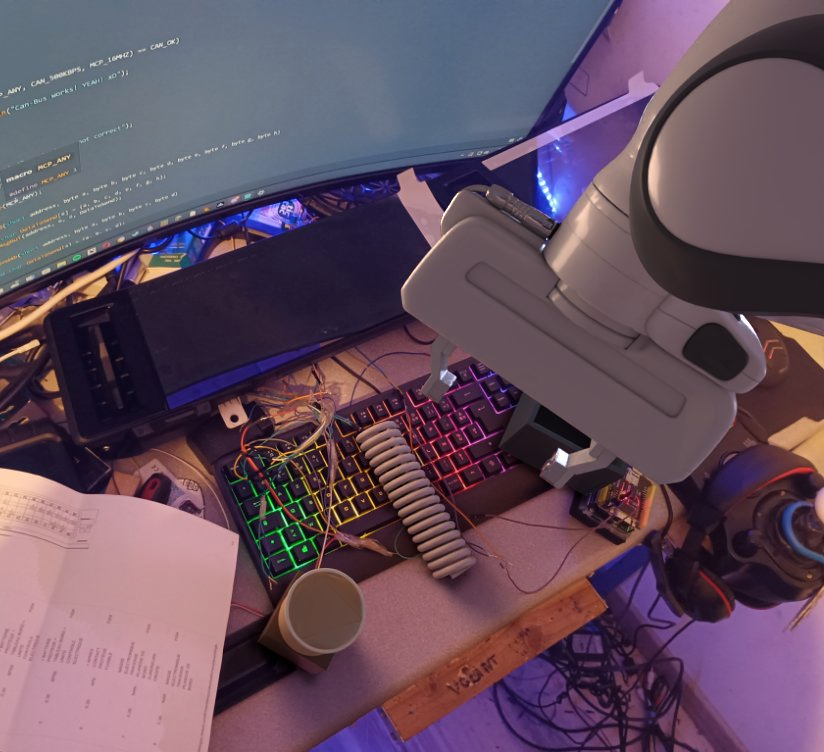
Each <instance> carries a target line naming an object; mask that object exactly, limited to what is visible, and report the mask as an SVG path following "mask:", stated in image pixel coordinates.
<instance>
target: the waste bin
mask: <svg viewBox="0 0 824 752" xmlns="http://www.w3.org/2000/svg"><path fill="white" fill-rule="evenodd" d="M591 440H592V439H591V438H590V437H588V436H587V435H585V434H584V433H582V432H581V431H580V430H578V429H577V428H575V427H574V426H572V425H571V424H569V423H568V422H566V421H565V420H564V419H562V418H561V417H559V416H558V415H556V414H555V413H553V412H552V411H550V410H549V409H548V408H546V407H545V406H543V405H542V404H540V403H539V402H537V401H536V400H534V399H533V398H532V397H530V396H529V395H527V394H526V393H524V392H523V391H522V392H521V395H520V398H519V400H518V402H517V404H516V407H515V409H514V411H513V413H512V415H511V418H510V420H509V422H508V424H507V426H506V429H505V431H504V434H503V435H502V438H501V440H500V442H499V445H498V449H500V450H501V451H504V452H505V453H507V454H509V455H510V456H513V457H514V458H516V459H518V460H519V461H521V462H523V463H525V464H526V465H529V466H530V467H533V468H534V469H536V470H537V471H540V473H541V472H542V471H541V469H542V467H543V465H544V464H545V462H546V461H547V460H548V459H551V458H552V455H553V453H554V452H555V451H556V450H557V449H558V448H559V449H561V450H562V451H564V452H565V453H567V454H568V455H570V454H572V453H575V452H578V451H581V450H584V449H587V448H590V445H591ZM629 466H630V465H629V464H627V463H626V462H624V461H623V460H622V459H620V458H619V457H616V458H615V459H614V460H613V461H612V462H611V463H610V464H609V465H608V466H607V467H606V468H602V469H598V470H594V471H590V472H586V473H582V474H578V475H576V474H574V475H573V476H572V477H571V478H570V479H569V480H568V481H567V482H566V483H565V484H564V486H567V487H569V488H571V490H574V491H576V492H577V493H580V494H581V495H583V496H585V497H589V496H591V495H593V494H595V493H596V492H598V491H600V490H603V489H604V488H607V487H608V486H610V485H612V484H614V483H616V482H618V481H620V480H621V479H623V478H625V477H626V474H627V471H628V468H629ZM588 492H589V493H588ZM590 493H592V494H590Z"/></svg>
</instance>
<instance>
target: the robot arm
mask: <svg viewBox="0 0 824 752" xmlns="http://www.w3.org/2000/svg"><path fill="white" fill-rule="evenodd" d="M664 79H665V80H664V81H663V82H662V83H661V85H660V86H659V87H658V89H656V91H655V93H654V94H653V96H652V97H651V99H650V100H649V102H648V103H647V104H646V106H645V108H644V110H643V113H642V115H641V117H640V120H639V122H638V125H637V128H636V130H635V132H634V134H633V135H632V138H631V139H630V140H629V142H628V143H627V145H626V146H625V147H624V149H622V151H621V152H620V153H619V154H618V155H617V156H616V157H615V158H614V159H612V160H611V161H610V162H609V163H607V164H606V165H605V166H604V167H603V168H602V169H600V171H598V172H597V174H595V176H594V177H593V179H592V180H591V181H590V183H589V184H588V185H587V187H586V188H585V189H584V191H583V192H582V193H581V195H580V197H579V198H578V199H577V200H576V202H575V203H574V205H573V206H572V208H571V209H570V210H569V212H568V213H567V214H566V216H565V217H564V219H563V220H562V222H558V221H557V220H555V219H553V218H552V217H550V216H548V215H547V214H545V213H544V212H543V211H540V210H539V209H537V208H536V207H534V206H531V205H529V204H527V203H526V202H523V201H522V200H519V198H517V197H516V196H514V193H512V192H511V191H510V190H508V189H507V188H505V187H503V186H501V185H498V184H495V183H493V184H491V186H488V185H486V184H485V185H484V184H472V185H468V186H465V187H464V188H462V189H461V190H459V191H458V192H457V193H456V194H455V195H454V197H453V198H452V200H451V202H450V203H449V205H448V207H447V208H446V210H445V211H444V213H443V215H442V216H441V219H440V224H439V225H440V226H439V227H440V237H441V238H439V239H438V241H437V242H436V243H435V244H434V245H433V246H432V247H431V249H429V251H428V252H427V253H426V254H425V255H424V257H423V258H422V259H421V260H420V262H419V263H418V264H417V265H416V267H415V268H414V270H413V271H412V272H411V274H410V275H409V277H408V278H407V279H406V280H405V282H404V284H403V285H402V287H401V289H400V296H401V304H402V308H403V310H404V311H405V312H407V313H408V314H409V315H411V316H412V317H413V318H415V319H417V320H418V321H420V322H421V323H423V324H424V325H426V327H428V328H430V329H431V330H433V331H434V332H435V333H437V334H438V335H437V336H436V337H435V339H434V341H432V343H431V345H430V376H429V377H428V378H427V380H426V382H425V383H424V385H423V386H422V387H421V389H419V393H421V394H422V395H423V396H425V397H426V398H428V399H429V400H430V401H432V402H434V404H436V405H439V403H440V402H441V400H442V399H443V397H444V396H445V395H446V394H447V392H449V390H450V388H451V387H452V385H453V384H454V382H455V381H456V379H457V376H456V375H455V374H453V373H452V372H450V371H449V370H448V365H449V357H451V355H452V354H453V353H454V352H455V350H456V349H457V348H459V349H460V350H461V351H463V352H464V353H466V354H467V355H468V356H470V357H472V358H473V359H475V360H476V361H477V362H479V363H481V364H482V365H484V366H485V367H486V368H488V369H489V370H491V371H492V372H494V373H495V374H496V375H498V376H499V377H501V378H502V379H504V380H506V381H507V382H508V383H510V384H511V385H513V387H515V388H516V389H518V390H520V391H521V392H522V393H523V392H524V393H526V394H527V395H529V396H530V397H532V398H533V399H534V400H536V401H537V402H539V403H540V404H542V405H543V406H545V407H546V408H548V409H549V410H550V411H552V412H553V413H555V414H556V415H558V416H559V417H561V418H562V419H564V420H565V421H566V422H568V423H569V424H571V425H572V426H574V427H575V428H577V429H578V430H580V431H581V432H582V433H584V434H585V435H587V436H588V437H590V438H591V439H592V440H591V445H590V448H587V449H584V450H581V451H578V452H575V453H572V454H570V455H568V454H567V453H565V452H564V451H562V450H561V449H559V448H558V449H557V450H556V451H555V452H554V453H553V455H552V458H551V459H548V460H547V461H546V462H545V464H544V465H543V467H542V469H541V471H542V472H541V471H540V473H539V477H540V478H541V479H543V480H545V481H546V482H547V483H549V484H550V485H552V486H553V487H554V488H556V489H557V490H560V489H562V488H563V487H564V486H565V483H566V482H567V481H568V480H569V479H570V478H571V477H572V476H573V475H574V474H576V475H578V474H582V473H586V472H590V471H594V470H598V469H602V468H606V467H607V466H608V465H609V464H610V463H611V462H612V461H613V460H614V459H615V458H616V457H619V458H620V459H622V460H623V461H624V462H626V463H627V464H629V465H628V466H630V467H631V468H633V469H635V471H637V472H638V473H641V474H642V475H644V477H646V478H647V479H649V480H650V481H651V482H653V483H655V484H656V485H668V484H674V483H675V484H676V483H680V482H683V481H684V480H686V479H687V478H688V477H689V476H690V475H692V473H693V472H694V471H695V470H696V469H698V468H699V466H700V465H701V464H702V463H703V462H704V461H705V460H706V459H707V458H708V457H709V455H710V454H711V453H712V452H713V451H714V450H715V448H716V447H717V446H718V445H719V444H720V442H721V441H722V440H723V439H724V437H725V436H726V435H727V433H728V432H729V430H730V429H731V427H732V426H733V424H734V422H735V419H736V417H737V415H738V413H737V412H738V401H737V396H736V394H746V393H748V392H751V390H753V389H755V387H756V386H758V385H759V384H760V383H761V382H762V381H763V380H764V378H765V377H766V375H767V368H768V367H767V359H766V355H765V351H764V348H763V345H762V342H761V341H760V338H759V337H758V335H757V333H756V331H755V330H754V328H753V327H752V325H751V324H750V322H749V320H748V319H746V317H745V316H748V317H756V318H759V319H763V320H766V321H769V322H773V323H775V324H779V325H783V326H787V327H789V328H793V329H796V330H799V331H803V332H807V333H810V334H812V335H816V336H820V337H824V0H729V1H728V2H727V3H726V4H725V5H724V6H723V7H722V9H721V10H720V11H719V12H718V13H717V14H716V16H715V17H714V18H713V19H712V20H711V21H710V22H709V24H708V25H706V27H705V28H704V29H703V30H702V32H701V33H700V34H699V35H698V36H697V38H696V39H695V40H694V41H693V43H692V44H691V45H690V47H689V48H688V49H687V50H686V52H685V53H684V54H683V55H682V56H681V58H680V59H679V60H678V62H677V63H676V65H675V66H674V67H673V69H672V70H671V71H670V72H669V74H668V75H667V77H666V78H664ZM479 193H482V194H483V193H484V194H485V195H484V196H482V195H481V194H479ZM545 243H546V244H545Z"/></svg>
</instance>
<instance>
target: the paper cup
mask: <svg viewBox="0 0 824 752" xmlns="http://www.w3.org/2000/svg"><path fill="white" fill-rule="evenodd" d="M365 601H366V600H365V598H364V595H363V592H362V591H361V588H360V587H359V586H358V584H357V583H356V581H354V579H353V578H352V577H350V576H349V575H347V574H346V573H344V572H342V571H340V570H339V569H334V568H330V567H329V568H327V567H321V568H316V569H312V570H309V571H307V572H304V575H302V576H301V577H300V578H299V579H298V580H297V581H296V582H295V583H294V584H293V586H292V587H291V589H290V591H289V593H288V595H287V597H286V598H285V600H284V601H283V603H282V605H281V608H280V611H279V628H280V632H281V634H282V637H283V639H284V640H285V642H286V643H287V644H288V645H289V646H290V647H291V648H292V649H293V650H295V651H296V652H298V653H300V654H303V655H308V656H318V655H322V654H328V653H334V652H336V653H338V652H340V651H342V650H345V649H346V648H348V647H349V646H351V645H352V644H353V643H354V642H355V641H356V640H357V639H358V637H359V636H360V634H361V633H362V630H363V628H364V625H365V621H366V614H367V613H366V602H365Z"/></svg>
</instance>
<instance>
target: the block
mask: <svg viewBox="0 0 824 752" xmlns="http://www.w3.org/2000/svg"><path fill="white" fill-rule="evenodd" d="M304 574H305V572H303V571H301V570H298V571H297V572H296V573H295V575H293V578H292V579H291V581H290V582H289V583H288V585H287V586H286V588H285V590H284V592H283V594H282V596H281V597H280V599H279V601H278V603H277V605H276V607H275V609H274V611H273V612H272V614H271V616H270V618H269V620H268V621H267V623H266V625H265V626H264V629H263V630H262V633H261V634H260V636H259V638H258V640H257V643H258V644H260V645H261V646H263V647H265V648H266V649H269V650H270V651H272V652H273V653H275V654H277V655H278V656H280V657H282V658H283V659H286V660H287V661H289V662H291V663H292V664H294V665H296V666H297V667H299V668H301V669H302V670H304V671H306V672H307V673H309V674H317V673H323V672H327V671H328V669H329V668H330V665H331V664H332V661H333V659H334V657H335V655H336V653H337V652H334V653H328V654H322V655H318V656H308V655H303V654H300V653H298V652H296V651H295V650H293V649H292V648H291V647H290V646H289V645H288V644H287V643H286V642H285V640H284V639H283V637H282V634H281V632H280V628H279V611H280V608H281V605H282V603H283V601H284V600H285V598H286V597H287V595H288V593H289V591H290V589H291V587H292V586H293V584H294V583H295V582H296V581H297V580H298V579H299V578H300V577H301V576H302V575H304Z"/></svg>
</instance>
